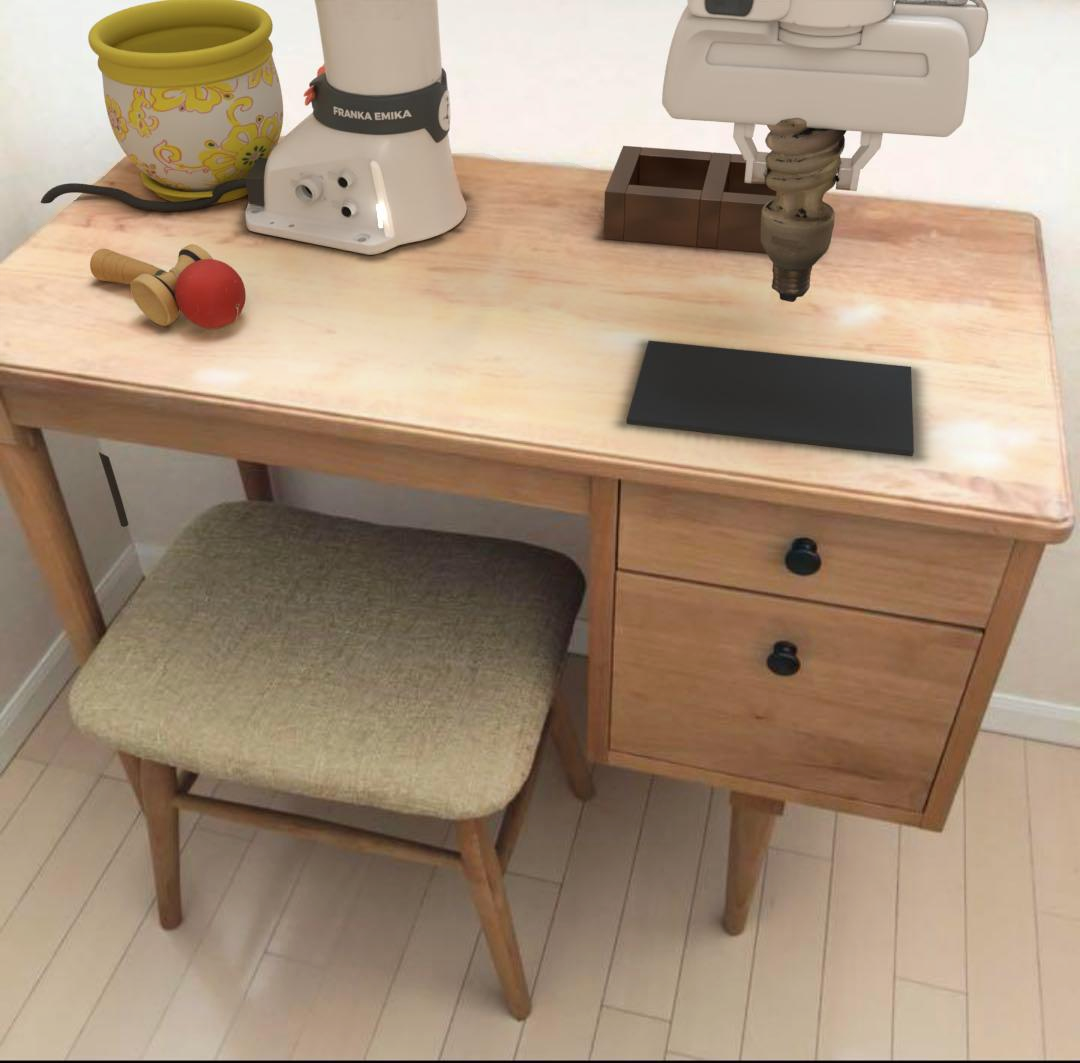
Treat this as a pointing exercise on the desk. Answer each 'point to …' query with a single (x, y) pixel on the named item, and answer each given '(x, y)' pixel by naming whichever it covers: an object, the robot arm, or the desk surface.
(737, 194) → the stand
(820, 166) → the light bulb
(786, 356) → the mat
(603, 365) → the desk surface
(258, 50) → the flowerpot
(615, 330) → the desk surface
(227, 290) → the kendama
